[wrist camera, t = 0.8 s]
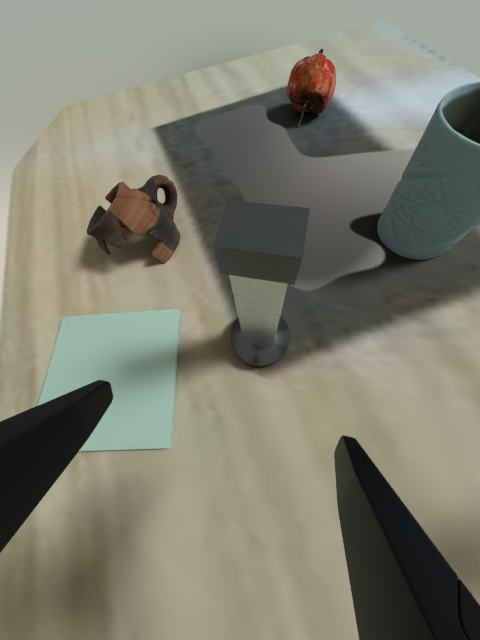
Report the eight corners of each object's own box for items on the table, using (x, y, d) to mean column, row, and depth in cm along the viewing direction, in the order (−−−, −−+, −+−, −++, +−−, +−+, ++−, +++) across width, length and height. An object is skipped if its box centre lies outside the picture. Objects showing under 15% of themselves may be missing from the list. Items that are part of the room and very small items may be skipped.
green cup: (387, 270, 26) (483, 167, 15) (357, 208, 30) (416, 89, 19) (474, 256, 26) (636, 141, 15) (433, 195, 30) (537, 68, 19)
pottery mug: (156, 285, 28) (87, 244, 22) (134, 268, 35) (77, 232, 29) (208, 207, 29) (153, 146, 23) (177, 205, 35) (128, 156, 29)
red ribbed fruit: (320, 142, 39) (351, 71, 36) (312, 114, 33) (348, 25, 29) (284, 135, 42) (309, 69, 38) (269, 108, 36) (298, 26, 32)
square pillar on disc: (283, 372, 23) (330, 301, 8) (226, 360, 24) (172, 276, 9) (291, 318, 25) (341, 182, 10) (239, 309, 26) (212, 172, 11)
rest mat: (171, 447, 21) (169, 448, 20) (30, 451, 22) (24, 453, 21) (180, 311, 26) (178, 308, 26) (67, 318, 27) (63, 316, 26)
